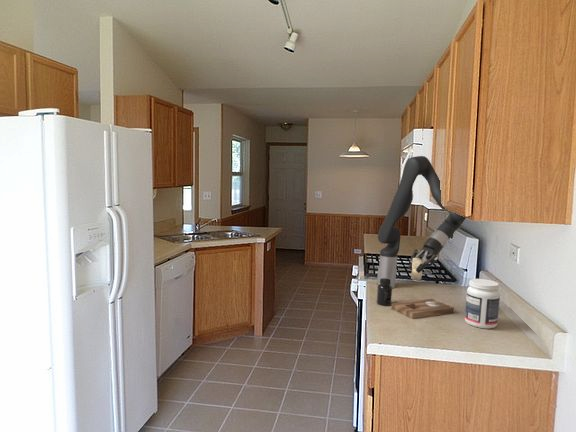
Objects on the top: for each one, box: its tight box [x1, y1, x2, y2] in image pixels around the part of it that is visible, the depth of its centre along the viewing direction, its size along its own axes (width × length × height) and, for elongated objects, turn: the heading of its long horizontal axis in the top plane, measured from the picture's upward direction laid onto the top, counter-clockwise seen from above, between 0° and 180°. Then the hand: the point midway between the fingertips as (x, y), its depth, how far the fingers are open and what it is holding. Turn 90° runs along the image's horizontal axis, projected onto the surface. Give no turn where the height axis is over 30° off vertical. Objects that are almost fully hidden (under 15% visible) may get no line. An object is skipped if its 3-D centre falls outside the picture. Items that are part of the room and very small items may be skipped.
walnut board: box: [391, 298, 455, 320], centre depth 197 cm, size 14×24×3 cm, turn 115°
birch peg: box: [410, 257, 423, 281], centre depth 193 cm, size 4×4×9 cm
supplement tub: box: [464, 278, 501, 330], centre depth 182 cm, size 13×13×18 cm
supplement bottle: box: [376, 278, 393, 307], centre depth 205 cm, size 7×7×12 cm
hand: (413, 270), depth 192 cm, fingers closed on birch peg, 4 cm apart
